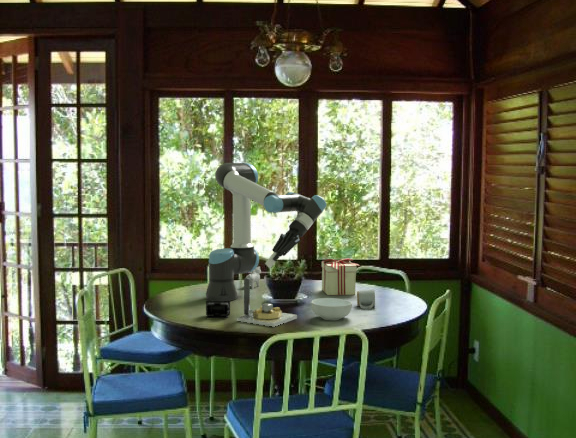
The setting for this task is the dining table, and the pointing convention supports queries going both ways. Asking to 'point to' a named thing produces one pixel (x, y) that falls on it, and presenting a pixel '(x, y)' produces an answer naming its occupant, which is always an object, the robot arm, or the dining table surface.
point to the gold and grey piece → (258, 312)
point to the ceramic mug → (366, 299)
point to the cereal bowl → (331, 308)
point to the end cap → (217, 309)
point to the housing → (267, 322)
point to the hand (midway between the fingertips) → (267, 265)
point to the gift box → (339, 277)
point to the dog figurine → (254, 277)
